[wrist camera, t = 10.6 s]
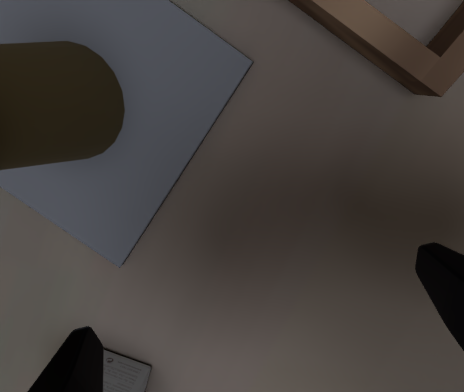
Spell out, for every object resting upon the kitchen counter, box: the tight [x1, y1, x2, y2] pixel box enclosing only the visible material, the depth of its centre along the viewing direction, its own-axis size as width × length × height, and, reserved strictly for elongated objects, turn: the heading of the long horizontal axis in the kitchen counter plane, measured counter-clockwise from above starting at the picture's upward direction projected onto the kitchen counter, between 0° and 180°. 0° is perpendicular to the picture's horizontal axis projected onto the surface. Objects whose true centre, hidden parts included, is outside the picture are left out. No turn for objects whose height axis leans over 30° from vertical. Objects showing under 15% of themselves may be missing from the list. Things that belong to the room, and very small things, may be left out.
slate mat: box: [0, 0, 253, 268], centre depth 19 cm, size 14×14×1 cm
